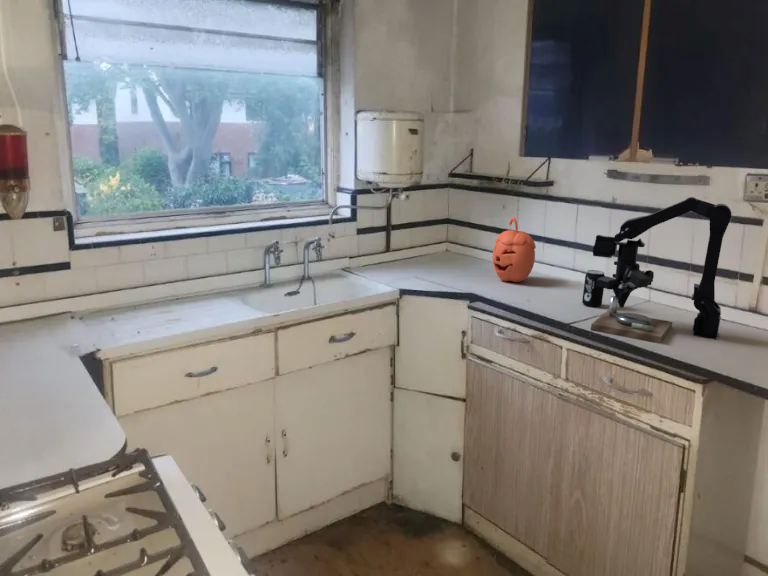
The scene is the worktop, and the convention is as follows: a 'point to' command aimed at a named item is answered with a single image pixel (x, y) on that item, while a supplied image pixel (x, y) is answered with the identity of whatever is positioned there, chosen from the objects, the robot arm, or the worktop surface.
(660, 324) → the base plate
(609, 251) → the robot arm
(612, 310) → the silver curved piece
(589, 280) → the beverage can
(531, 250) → the jack-o'-lantern
